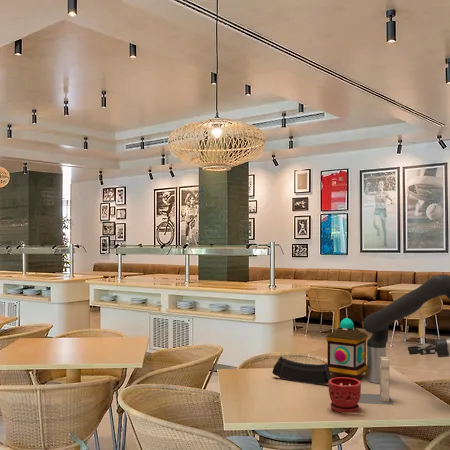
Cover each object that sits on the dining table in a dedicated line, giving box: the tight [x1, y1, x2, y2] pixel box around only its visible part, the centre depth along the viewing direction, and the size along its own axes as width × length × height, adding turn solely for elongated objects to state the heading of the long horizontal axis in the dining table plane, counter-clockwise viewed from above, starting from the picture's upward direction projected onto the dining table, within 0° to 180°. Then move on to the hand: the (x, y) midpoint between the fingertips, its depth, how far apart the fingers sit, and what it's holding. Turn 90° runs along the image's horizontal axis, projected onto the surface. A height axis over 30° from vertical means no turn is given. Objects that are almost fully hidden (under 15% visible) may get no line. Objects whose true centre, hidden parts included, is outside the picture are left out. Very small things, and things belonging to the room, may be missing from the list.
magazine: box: [272, 356, 332, 385], centre depth 269 cm, size 17×3×30 cm
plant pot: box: [328, 376, 362, 414], centre depth 225 cm, size 13×13×12 cm
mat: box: [358, 393, 394, 406], centre depth 240 cm, size 15×22×1 cm
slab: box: [379, 356, 390, 402], centre depth 238 cm, size 6×3×18 cm, turn 172°
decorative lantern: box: [325, 317, 369, 380], centre depth 282 cm, size 20×20×30 cm
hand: (408, 350), depth 236 cm, fingers open, 8 cm apart
